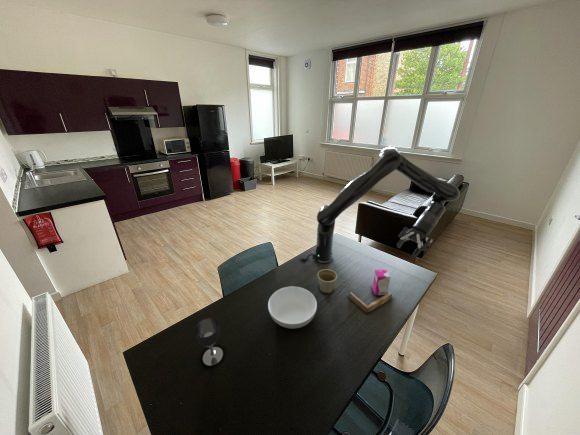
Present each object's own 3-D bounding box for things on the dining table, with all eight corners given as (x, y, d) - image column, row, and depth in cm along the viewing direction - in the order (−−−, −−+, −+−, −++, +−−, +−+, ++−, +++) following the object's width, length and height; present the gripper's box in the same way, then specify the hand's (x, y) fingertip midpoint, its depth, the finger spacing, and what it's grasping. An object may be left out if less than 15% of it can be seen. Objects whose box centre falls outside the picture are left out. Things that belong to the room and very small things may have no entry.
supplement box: (383, 287, 119) (387, 269, 114) (386, 296, 114) (391, 277, 109) (371, 287, 120) (375, 268, 115) (374, 295, 114) (378, 276, 109)
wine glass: (212, 371, 82) (205, 341, 76) (196, 359, 86) (189, 330, 80) (228, 352, 88) (223, 323, 82) (213, 342, 92) (208, 314, 86)
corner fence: (366, 313, 105) (367, 308, 103) (349, 298, 113) (349, 293, 112) (391, 298, 112) (392, 294, 111) (373, 285, 121) (374, 280, 120)
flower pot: (314, 292, 116) (315, 278, 113) (319, 280, 124) (320, 267, 121) (333, 298, 113) (334, 283, 109) (337, 285, 121) (338, 271, 117)
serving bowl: (258, 316, 104) (257, 304, 101) (291, 291, 117) (291, 280, 115) (294, 345, 91) (294, 333, 88) (326, 313, 105) (327, 302, 102)
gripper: (409, 214, 114) (389, 241, 115) (438, 225, 103) (416, 255, 103) (415, 221, 119) (396, 247, 119) (443, 232, 107) (422, 261, 107)
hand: (405, 251), depth 111 cm, fingers open, 8 cm apart
